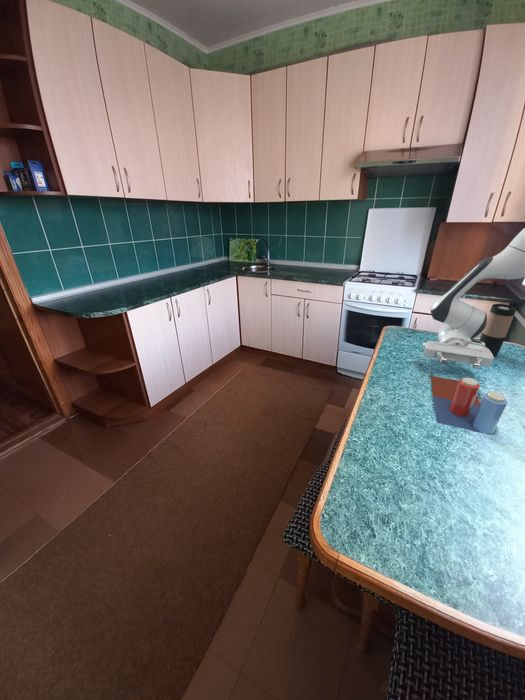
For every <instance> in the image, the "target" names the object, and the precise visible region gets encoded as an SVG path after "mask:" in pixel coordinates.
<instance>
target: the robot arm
mask: <svg viewBox="0 0 525 700" xmlns="http://www.w3.org/2000/svg"><path fill="white" fill-rule="evenodd" d="M522 278H525V227H524V228H522V230H520V231H519V232H518V234H517V235H516V236H515V237H514V238H513V239H512V240H511V241H510V242H509V243H508V245H507V246H506V247H505V248H504V249H503V250H501V251H500V252H499V253H497V254H496V255H493V256H489V257H485V258H483V259H482V260H480V261H479V262H478V263H476V264H475V265H474V266H473V267H472V268H470V269H469V271H468V272H466V273H465V274H464V275H463V276H462V277H461V278H460V279H459V280H458V281H457V282H456V283H454V285H452V286H451V288H450V289H448V290H447V291H446V292H445V293H443V294H442V295H441V296H440V297H439V298H437V299H436V300H435V301H434V302H433V303H432V305H431V307H430V309H429V311H430V314H431V317H432V320H434V321H436V322H439V323H442V325H441V326H440V327H439V329H438V331H437V340H438V341H434V340H428V341H425V342H423V343H422V348H424V349H423V356H425V357H426V358H429V359H436V360H437V361H439V363H440V364H446V362H447V361H448V362H449V361H450V362H454V363H455V362H456V363H461V364H466V365H467V364H468V365H471V366H472V367H471V368H472V369H475V370H479V369H480V367H486V368H489V367H491V366H492V364H493V362H494V359H495V357H494V356H493V354H492V353H491V351H490V350H489V349H488V348H486V347H485V343H484V342H480V340H478V339H475V338H477V337H478V336H479V335H480V334H482V331H483V330H484V328H485V327H486V324H487V318H488V315H487V313H486V312H485V311H484V310H482V309H480V308H477V307H476V306H473V305H471V304H470V303H467V302H465V301H462V300H461V299H460V298H461V297H462V296H463V295H464V294H465V293H466V292H468V291H469V290H470V289H472V287H474V286H475V284H477V283H478V282H480V281H482V280H485V279H486V280H487V279H498V280H500V279H501V280H518V279H522Z"/></svg>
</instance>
